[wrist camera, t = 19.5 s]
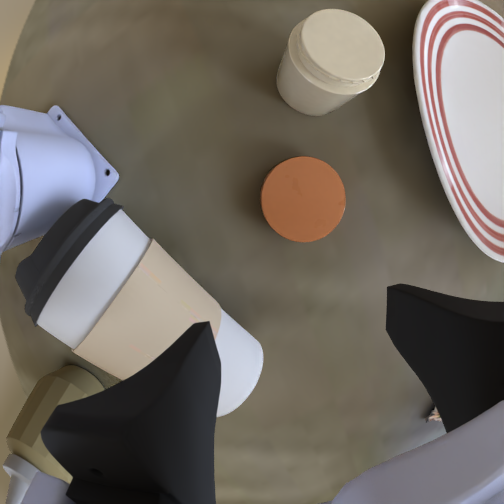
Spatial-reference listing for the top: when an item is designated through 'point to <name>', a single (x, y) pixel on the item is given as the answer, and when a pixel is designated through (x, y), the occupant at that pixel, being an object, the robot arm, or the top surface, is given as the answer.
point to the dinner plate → (465, 111)
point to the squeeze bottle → (33, 420)
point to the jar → (329, 61)
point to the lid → (302, 199)
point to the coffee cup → (126, 299)
